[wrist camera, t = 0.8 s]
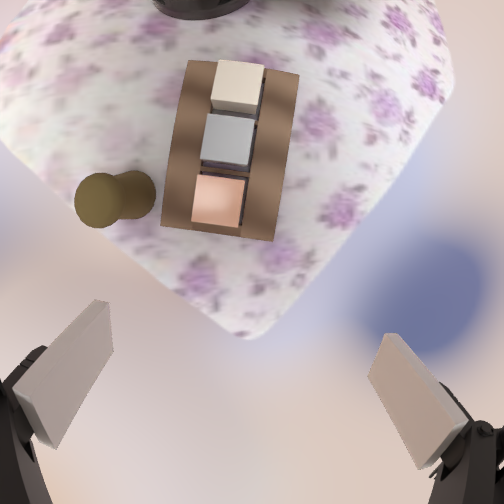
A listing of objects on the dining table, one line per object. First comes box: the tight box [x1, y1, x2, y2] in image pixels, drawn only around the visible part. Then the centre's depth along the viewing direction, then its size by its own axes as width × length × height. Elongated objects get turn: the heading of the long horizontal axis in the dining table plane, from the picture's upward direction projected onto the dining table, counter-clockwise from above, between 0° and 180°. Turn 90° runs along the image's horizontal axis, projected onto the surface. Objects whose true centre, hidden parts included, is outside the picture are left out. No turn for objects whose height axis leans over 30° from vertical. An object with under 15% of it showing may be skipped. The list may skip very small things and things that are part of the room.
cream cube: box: [211, 59, 264, 114], centre depth 26 cm, size 4×4×4 cm
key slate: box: [200, 113, 255, 167], centre depth 27 cm, size 4×4×4 cm
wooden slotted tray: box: [160, 60, 299, 242], centre depth 31 cm, size 20×13×2 cm, turn 171°
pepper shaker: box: [74, 171, 156, 228], centre depth 27 cm, size 6×6×11 cm
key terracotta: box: [191, 174, 245, 228], centre depth 29 cm, size 4×4×4 cm
